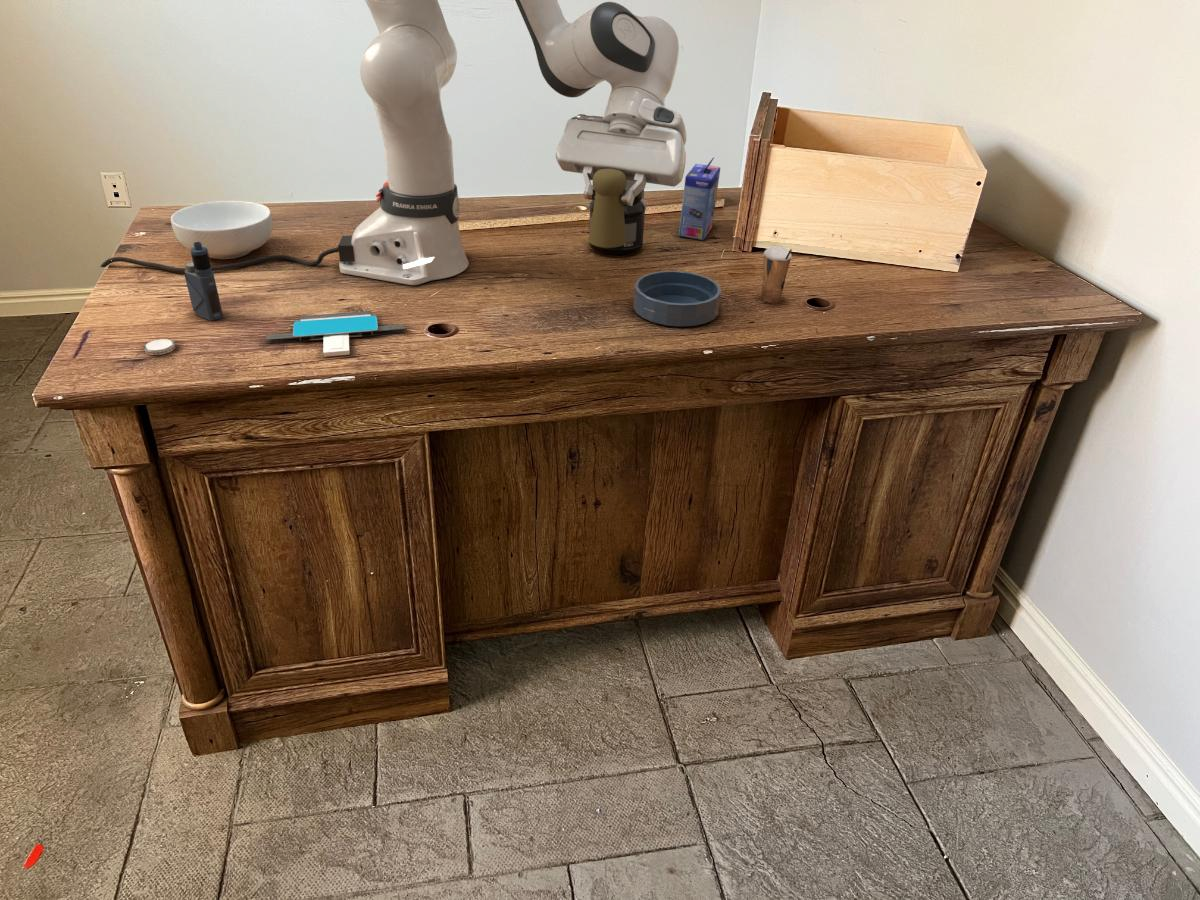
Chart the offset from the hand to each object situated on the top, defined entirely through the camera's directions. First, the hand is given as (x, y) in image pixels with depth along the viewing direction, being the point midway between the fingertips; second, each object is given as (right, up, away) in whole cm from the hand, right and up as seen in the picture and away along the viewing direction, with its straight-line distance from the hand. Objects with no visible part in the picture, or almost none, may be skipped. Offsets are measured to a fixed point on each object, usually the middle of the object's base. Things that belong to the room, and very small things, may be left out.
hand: (607, 200), depth 131 cm
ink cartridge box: (+18, +6, +42) cm, 46 cm away
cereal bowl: (-69, -2, +25) cm, 73 cm away
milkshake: (+28, -13, +14) cm, 34 cm away
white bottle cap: (-65, -24, -7) cm, 69 cm away
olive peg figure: (0, -5, +4) cm, 7 cm away
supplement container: (+2, 0, +33) cm, 33 cm away
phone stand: (-41, -22, -3) cm, 46 cm away
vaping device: (-62, -17, +2) cm, 65 cm away
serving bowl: (+11, -15, +10) cm, 21 cm away
